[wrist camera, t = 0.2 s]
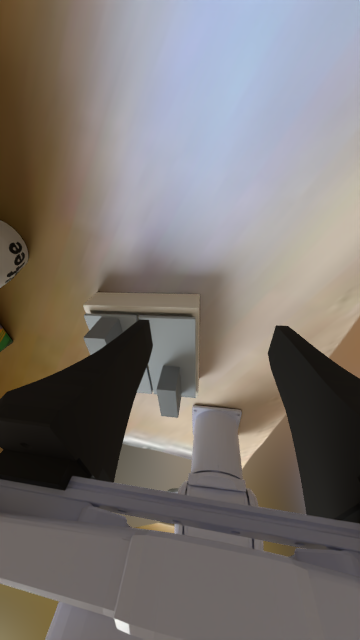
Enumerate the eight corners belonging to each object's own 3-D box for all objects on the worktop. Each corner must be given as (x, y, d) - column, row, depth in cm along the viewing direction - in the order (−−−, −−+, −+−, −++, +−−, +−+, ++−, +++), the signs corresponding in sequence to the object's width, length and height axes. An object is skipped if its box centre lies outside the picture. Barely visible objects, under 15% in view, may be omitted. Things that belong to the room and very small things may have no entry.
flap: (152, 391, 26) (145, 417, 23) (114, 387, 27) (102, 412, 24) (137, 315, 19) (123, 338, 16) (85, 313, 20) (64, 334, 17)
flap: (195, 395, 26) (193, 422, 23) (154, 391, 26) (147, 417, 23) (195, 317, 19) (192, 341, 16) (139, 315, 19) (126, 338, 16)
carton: (198, 378, 29) (197, 396, 26) (122, 372, 30) (114, 389, 28) (199, 294, 21) (198, 308, 18) (96, 292, 23) (83, 305, 20)
